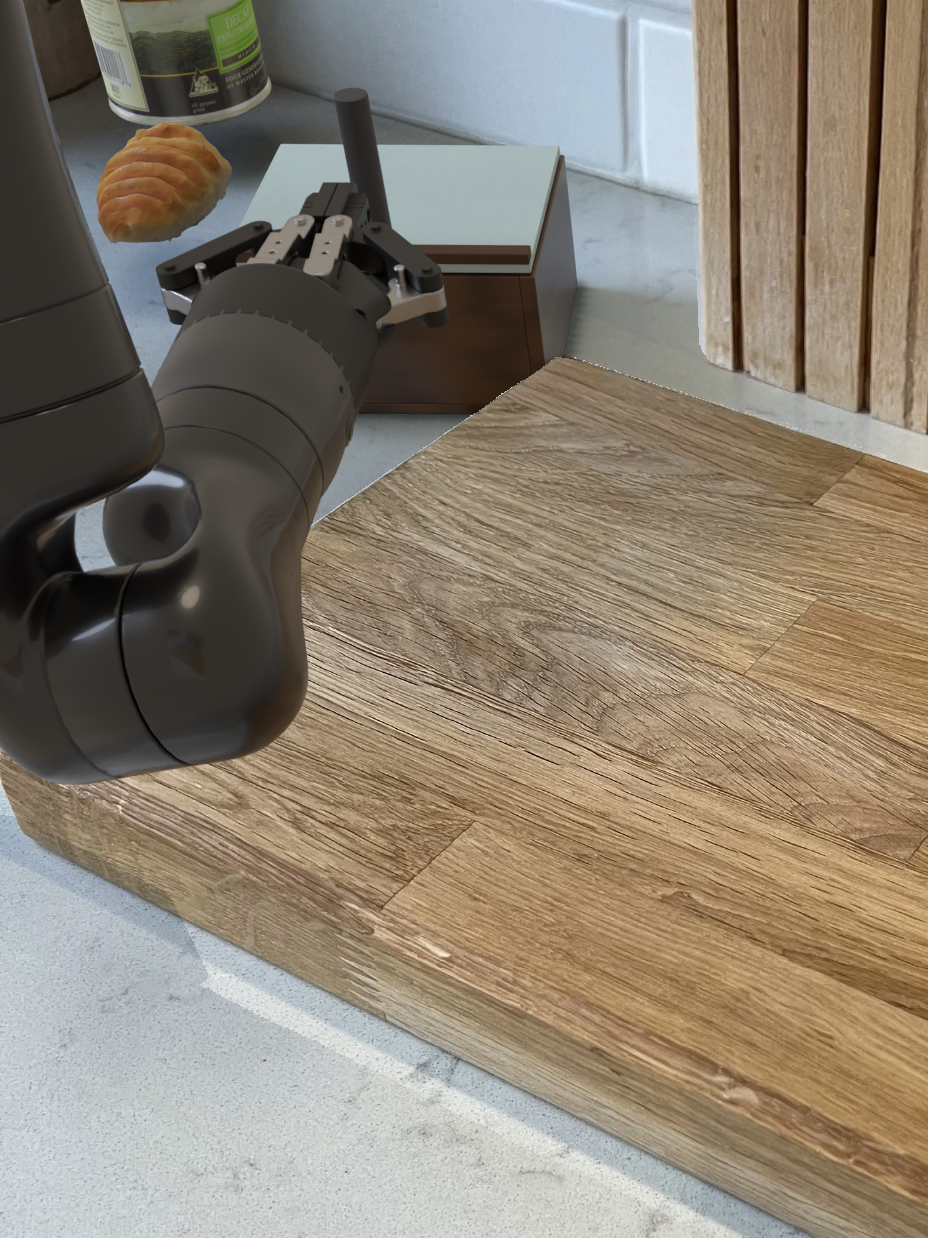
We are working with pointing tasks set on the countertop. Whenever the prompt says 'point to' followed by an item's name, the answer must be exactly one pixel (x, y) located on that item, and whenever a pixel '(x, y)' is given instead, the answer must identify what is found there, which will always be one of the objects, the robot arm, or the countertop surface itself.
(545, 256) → the case
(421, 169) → the glass door
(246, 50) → the coffee can
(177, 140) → the pastry
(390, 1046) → the countertop surface
